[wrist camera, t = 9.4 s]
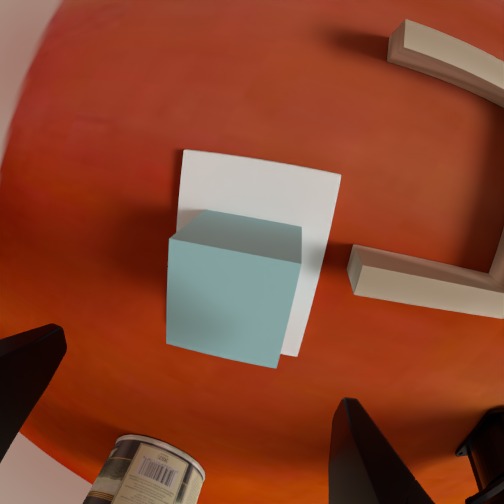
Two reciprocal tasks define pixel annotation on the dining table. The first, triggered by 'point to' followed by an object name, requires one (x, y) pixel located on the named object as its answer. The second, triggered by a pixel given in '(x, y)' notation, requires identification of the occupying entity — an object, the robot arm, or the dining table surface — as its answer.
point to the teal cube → (232, 286)
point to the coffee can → (147, 474)
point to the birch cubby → (417, 269)
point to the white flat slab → (266, 211)
